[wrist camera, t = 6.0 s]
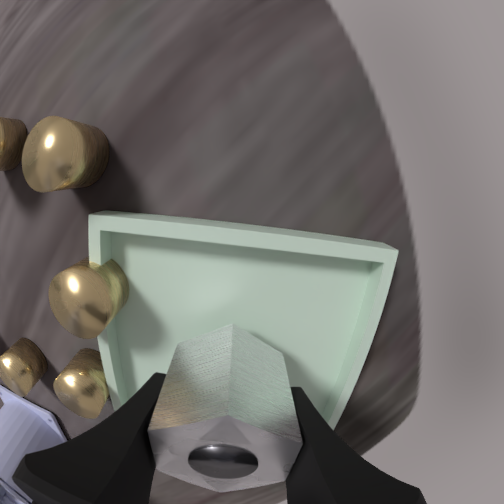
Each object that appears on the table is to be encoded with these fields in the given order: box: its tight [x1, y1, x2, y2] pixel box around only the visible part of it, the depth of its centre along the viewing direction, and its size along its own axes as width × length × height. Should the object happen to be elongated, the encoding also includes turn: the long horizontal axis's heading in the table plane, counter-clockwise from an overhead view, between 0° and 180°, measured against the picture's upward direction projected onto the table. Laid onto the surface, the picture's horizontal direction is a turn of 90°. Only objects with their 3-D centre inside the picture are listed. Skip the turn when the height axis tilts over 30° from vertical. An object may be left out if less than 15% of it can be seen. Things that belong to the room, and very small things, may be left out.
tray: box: [89, 210, 398, 430], centre depth 13 cm, size 13×13×2 cm
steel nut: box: [147, 323, 303, 492], centre depth 9 cm, size 5×4×5 cm
